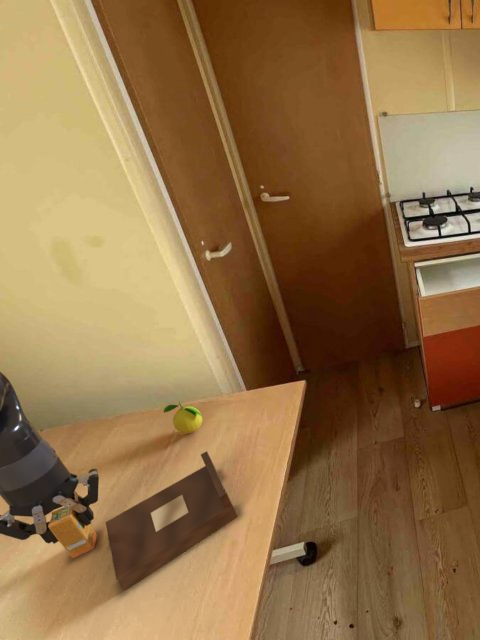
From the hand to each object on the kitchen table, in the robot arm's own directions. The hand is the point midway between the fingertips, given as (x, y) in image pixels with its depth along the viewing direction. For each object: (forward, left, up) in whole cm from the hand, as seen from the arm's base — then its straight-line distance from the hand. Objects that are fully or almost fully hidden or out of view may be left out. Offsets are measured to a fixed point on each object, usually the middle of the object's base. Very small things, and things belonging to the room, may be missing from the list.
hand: (73, 529), depth 79 cm
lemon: (+21, +17, -6) cm, 28 cm away
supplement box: (0, 0, -6) cm, 6 cm away
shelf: (+13, -8, -5) cm, 16 cm away
